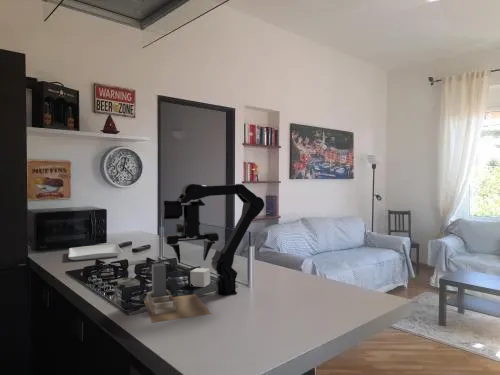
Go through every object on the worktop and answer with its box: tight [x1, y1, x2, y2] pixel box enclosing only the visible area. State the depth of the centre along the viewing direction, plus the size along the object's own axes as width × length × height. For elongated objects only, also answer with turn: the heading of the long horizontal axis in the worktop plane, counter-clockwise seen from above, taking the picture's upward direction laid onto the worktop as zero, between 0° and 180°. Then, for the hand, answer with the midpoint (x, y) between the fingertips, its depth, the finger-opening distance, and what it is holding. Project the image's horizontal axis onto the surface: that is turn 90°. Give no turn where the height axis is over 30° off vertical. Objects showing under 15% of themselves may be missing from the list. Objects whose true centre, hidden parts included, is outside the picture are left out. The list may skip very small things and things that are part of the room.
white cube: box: [189, 267, 211, 288], centre depth 149 cm, size 6×6×6 cm
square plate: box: [68, 243, 123, 261], centre depth 211 cm, size 27×27×4 cm
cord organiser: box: [143, 289, 212, 323], centre depth 120 cm, size 18×21×4 cm
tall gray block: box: [151, 262, 167, 298], centre depth 124 cm, size 4×4×13 cm
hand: (192, 261), depth 133 cm, fingers open, 9 cm apart
